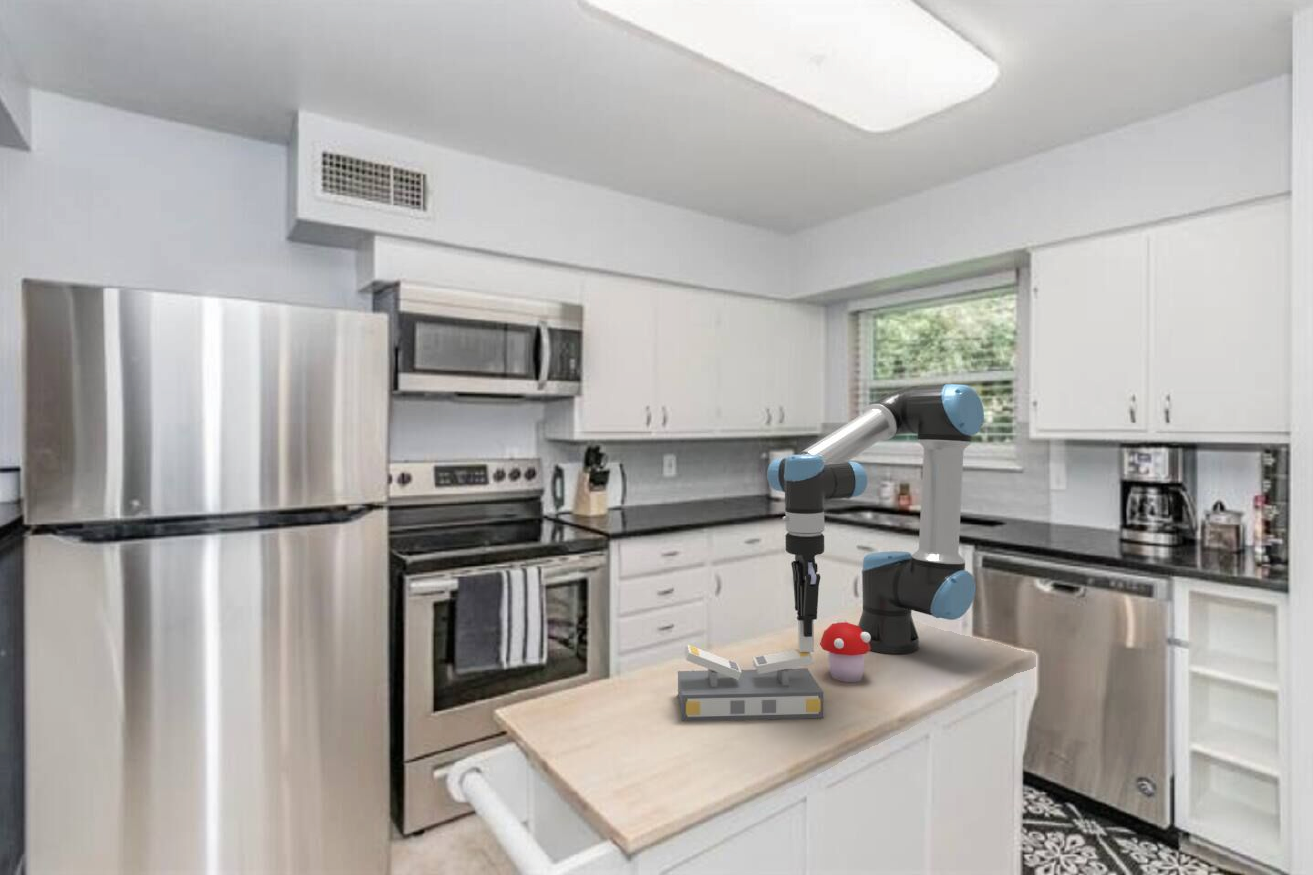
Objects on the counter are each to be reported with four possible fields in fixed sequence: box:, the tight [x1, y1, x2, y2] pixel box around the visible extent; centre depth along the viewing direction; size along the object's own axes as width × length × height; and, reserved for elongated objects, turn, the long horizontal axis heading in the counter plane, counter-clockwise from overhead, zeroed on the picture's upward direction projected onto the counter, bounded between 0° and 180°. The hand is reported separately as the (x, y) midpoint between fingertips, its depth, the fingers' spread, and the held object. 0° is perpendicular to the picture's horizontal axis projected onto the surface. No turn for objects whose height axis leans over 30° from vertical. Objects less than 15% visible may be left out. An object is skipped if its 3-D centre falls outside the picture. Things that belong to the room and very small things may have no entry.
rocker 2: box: [752, 648, 814, 674], centre depth 133 cm, size 11×5×2 cm, turn 92°
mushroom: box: [819, 618, 871, 683], centre depth 147 cm, size 11×11×12 cm
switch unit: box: [677, 667, 825, 722], centre depth 132 cm, size 27×12×8 cm, turn 92°
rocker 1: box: [684, 644, 742, 680], centre depth 132 cm, size 11×5×2 cm, turn 92°
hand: (806, 650), depth 133 cm, fingers closed
